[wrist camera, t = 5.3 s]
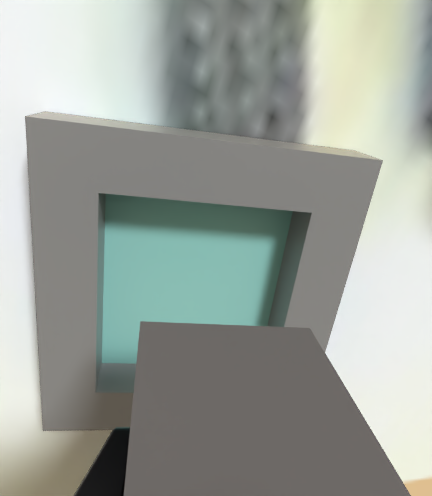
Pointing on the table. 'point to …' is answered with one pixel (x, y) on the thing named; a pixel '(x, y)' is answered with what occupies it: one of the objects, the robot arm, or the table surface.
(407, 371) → the table surface
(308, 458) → the block
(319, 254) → the socket
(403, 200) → the table surface
